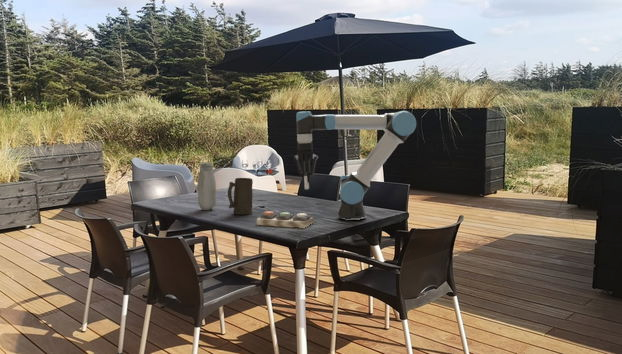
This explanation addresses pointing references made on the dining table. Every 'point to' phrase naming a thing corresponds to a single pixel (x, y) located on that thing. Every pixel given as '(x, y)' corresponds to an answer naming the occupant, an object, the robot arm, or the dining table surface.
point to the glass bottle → (206, 187)
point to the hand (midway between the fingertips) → (306, 188)
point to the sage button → (285, 214)
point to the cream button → (301, 215)
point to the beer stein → (241, 196)
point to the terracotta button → (269, 213)
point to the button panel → (284, 221)
